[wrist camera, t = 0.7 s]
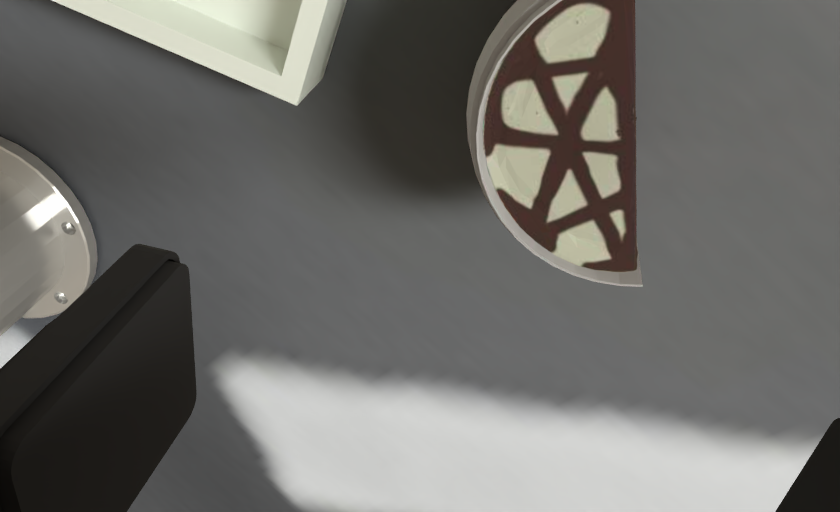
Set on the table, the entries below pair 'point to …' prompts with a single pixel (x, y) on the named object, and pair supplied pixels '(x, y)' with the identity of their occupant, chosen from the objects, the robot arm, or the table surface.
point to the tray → (235, 36)
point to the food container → (561, 133)
